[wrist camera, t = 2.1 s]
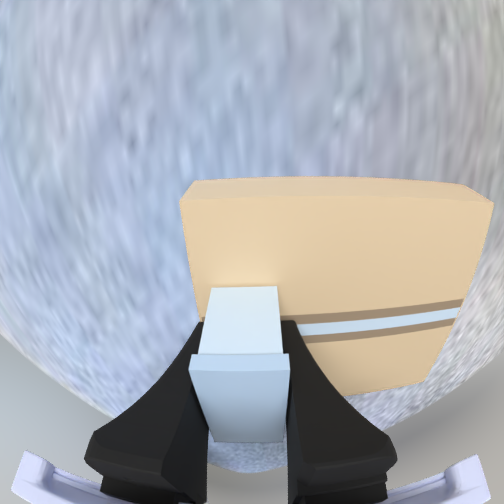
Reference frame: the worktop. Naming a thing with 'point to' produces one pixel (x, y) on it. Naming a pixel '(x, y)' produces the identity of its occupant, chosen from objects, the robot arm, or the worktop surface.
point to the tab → (242, 366)
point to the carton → (344, 264)
